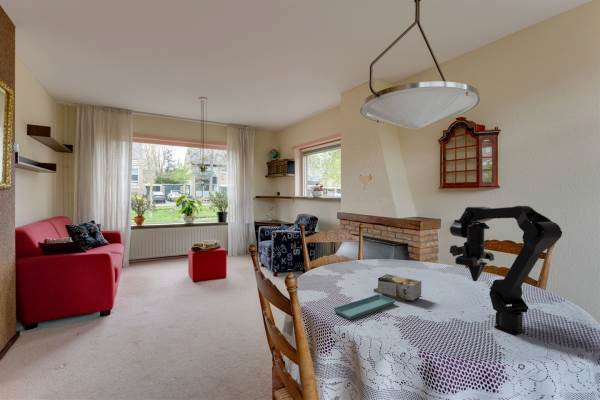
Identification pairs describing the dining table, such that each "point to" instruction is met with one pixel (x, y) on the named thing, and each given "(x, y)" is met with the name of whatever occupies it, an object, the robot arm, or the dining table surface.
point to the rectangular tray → (364, 306)
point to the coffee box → (399, 286)
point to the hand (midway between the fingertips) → (474, 281)
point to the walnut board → (391, 295)
